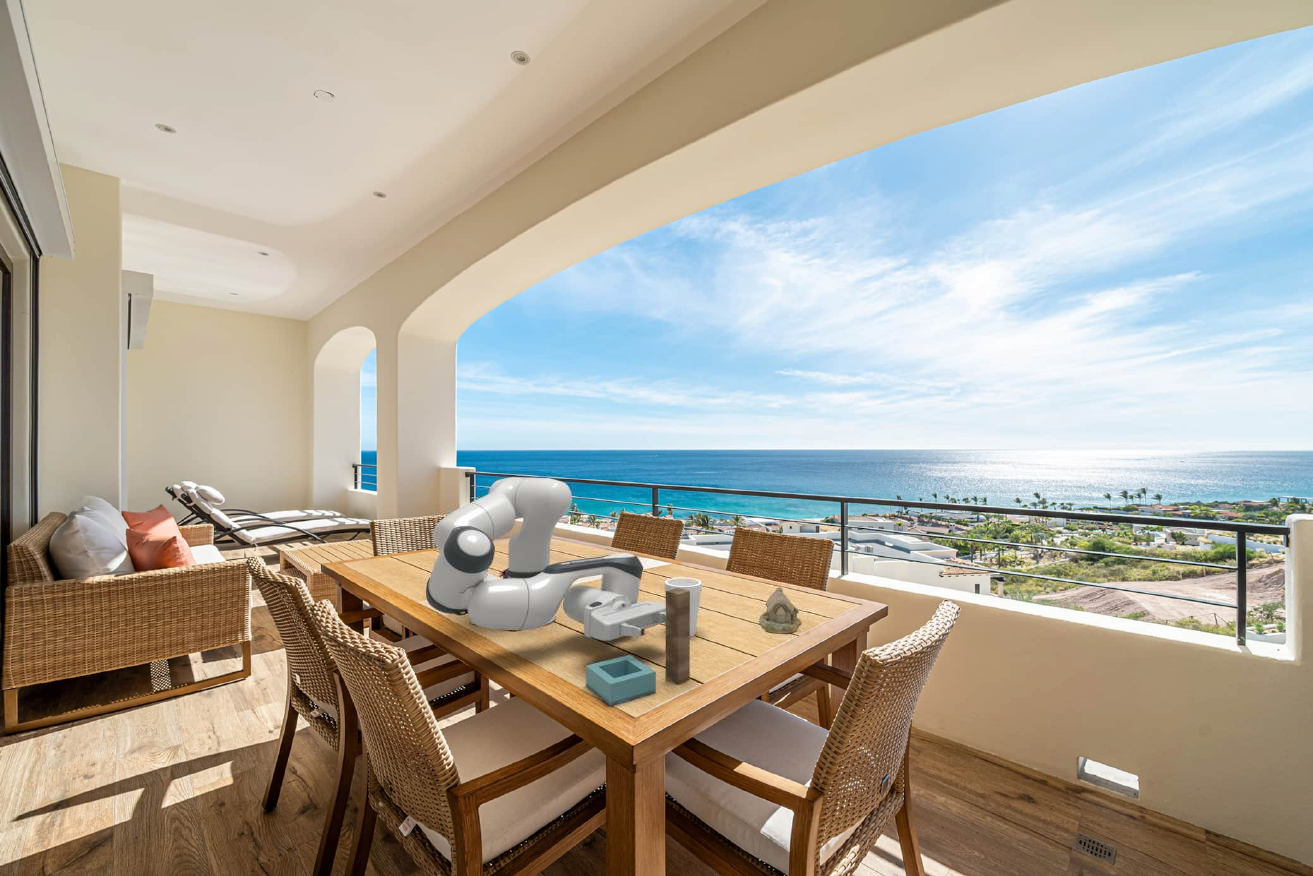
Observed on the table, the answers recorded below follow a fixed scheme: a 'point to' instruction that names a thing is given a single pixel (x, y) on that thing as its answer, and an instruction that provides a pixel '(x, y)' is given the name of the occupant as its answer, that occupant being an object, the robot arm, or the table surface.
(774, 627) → the ceramic model
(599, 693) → the light blue square container
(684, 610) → the wooden block
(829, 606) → the table surface
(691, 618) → the foam cup
